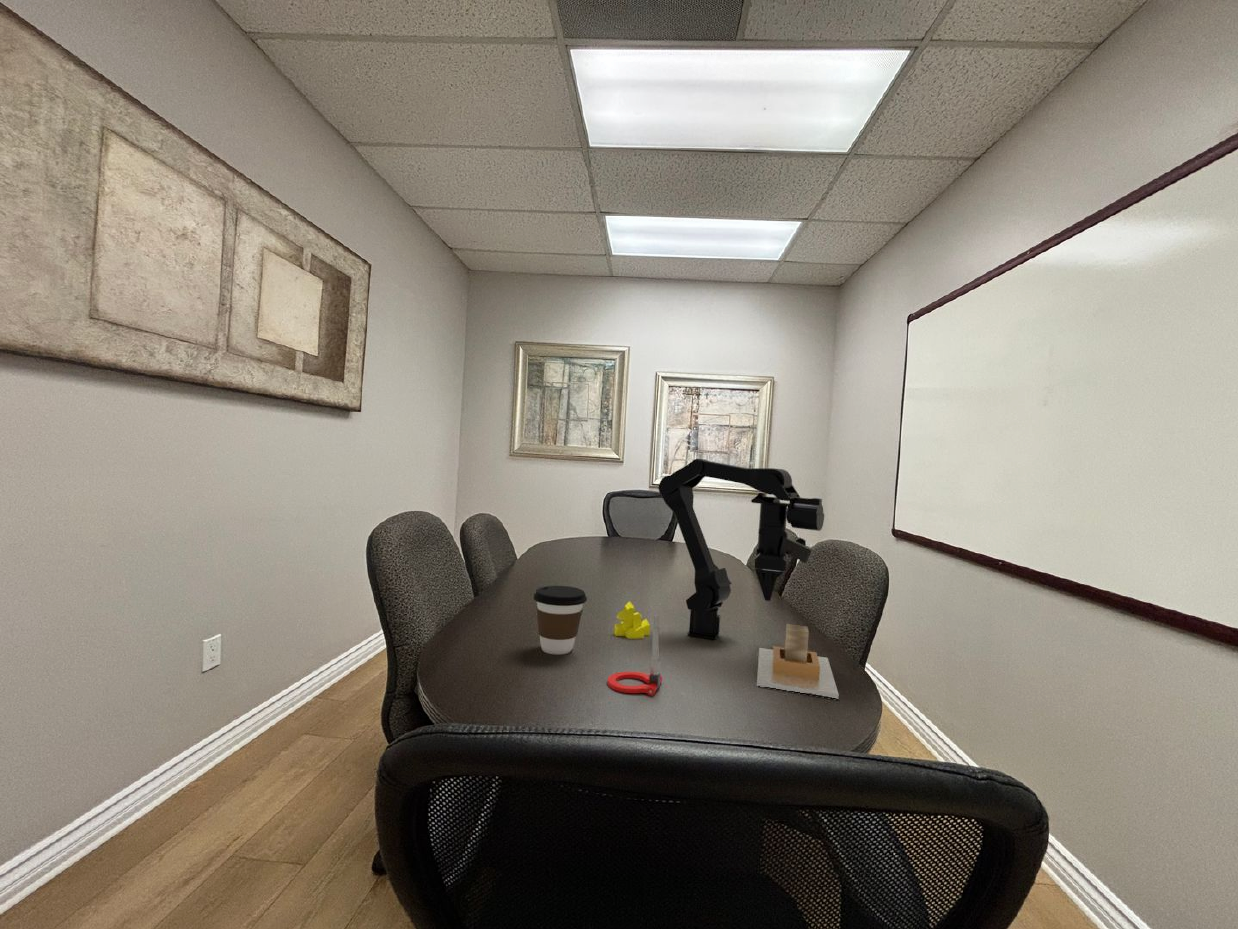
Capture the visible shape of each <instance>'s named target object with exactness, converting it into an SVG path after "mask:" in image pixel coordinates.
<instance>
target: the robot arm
mask: <svg viewBox="0 0 1238 929" xmlns="http://www.w3.org/2000/svg"><path fill="white" fill-rule="evenodd" d="M706 477H708V478H713V479H718V480H723V481H729V482H733V483H738V484H743V485H746V486H747V487H750V488H752V489H753V490H756V491H759V493H758V494H757V495H756V496H754V498H752V499H750V501H751V503H753V504H759V505H760V507H759V522H758V533H757V534H758V535H757V536H758V538H757V547H756V553H755V559H754V566H753V567H754V571H755V573H756V577H757V579H758V583H759V586H760V589H761V592H762V596H763V599H764V601H765V602H769V601H771V599H772V596H773V592H774V589H775V586H776V582H777V579H778V578H779V577H780V576H782V575H784V574H785V572H786V569H787V559H786V558H785V557H787V555H788V556H790V557H793V558H794V559H797V560H799V561H800V562H801V563H803V564H808V560H809V559H810V557H811V554H812V552H813V549H812V547H810V546H808V545H807V544H806V542H807V541H806V539H804V538H803V537H799V536H798V537H797V538H796V539H793V538H790V537H788V531H786V529H787V523H788V524H790V526H791V527H792V528H793V529H800V530H810V531H817V532H820V531H821V530H822V528H823V527H824V522H825V513H824V507H823V505H822V503H823V499H822V498H816V497H814V498H808V497H806V498H805V497H801V496H800V495H799V493H798V491H797V490H796V488H795V486H794V485H793V480H792V479H793V478H792V475H791V474H790V473H789V471H787V470H786V469H783V468H773V467H771V468H769V467H768V468H767V467H763V468H761V467H759V468H757V467H756V468H749V467H744V466H739V465H732V464H727V463H721V462H716V461H710V460H708V459H705V458H704V459H703V458H695V459H693V460H691V462H690V463H688V464H686V465H685V466H682V467H681V468H679V469H678V470H675V471H674V472H673V473H672V474H670V475H665V476H663V477H662V479H661V480H660V482H659V484H658V486H657V487H658V492H659V494H660V496H661V498H662V500H663V501H664V503H665V505H666V506H667V507H668V508H669V509H670V510H671V511H672V513H673V514H674V516H675V518H676V519H675V520H676V521H677V523H678V527H679V530H680V532H681V535H682V538H683V540H684V544H685V546H686V549H687V552H688V554H689V557H690V560H691V562H692V565H693V568H694V582H693V583H694V588H695V592H694V593H693V594H691V595H690V596H689V597H688V598H687V599H686V601H685V604H686V607H687V609H688V611H689V610H690V613H689V614H690V615H689V624H688V625H689V628H688V632H687V636H689V637H697V638H701V639H709V640H716V639H717V636H719V635H720V632H721V631H720V630H721V615H720V614H719V609H720V608H721V607H722V606H723V603H724V602H725V601H727V600H728V599H729V596H730V594H732V591H731V590H732V589H731V588H732V587H731V585H732V584H733V583H732V582H731V580H730V579H729V577H728V573H727V569H726V568H725V567H722V568H719V567H718V566H717V565H716V564H715V562H714V560H713V557H712V554H711V552H710V549H709V546H708V544H707V542H706V538H705V535H704V532H703V530H702V528H701V526H700V522H699V520H698V516H697V514H696V513H695V509H694V491H693V489H694V488H695V487H697V486H698V485H699V484H700V483H701V482H702V481H703V479H704V478H706ZM767 495H768V496H767ZM769 495H770V496H769ZM771 495H772V496H771ZM781 501H787V502H781ZM788 502H789V503H788Z"/></svg>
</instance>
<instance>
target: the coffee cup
mask: <svg viewBox="0 0 1238 929" xmlns="http://www.w3.org/2000/svg"><path fill="white" fill-rule="evenodd" d="M533 600H534V601H536V618H537V626H538V628H537V629H538V635H539V640H540V642H539V643H540V647H541V650H542V652H544V653H547V654H549V655H566V654H569V653H571V652H572V649H573V648H574V646H575V641H576V638H577V635H578V632H579V627H580V622H581V618H582V613H583V606H584V604H585V603H586V602H587V600H588V597H587V595H586V592H585V591H584V590H583V589H581V588H578V587H574V586H570V585H569V586H567V585H547V586H542V587H539V588H536V591H535V593H534V594H533Z"/></svg>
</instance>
